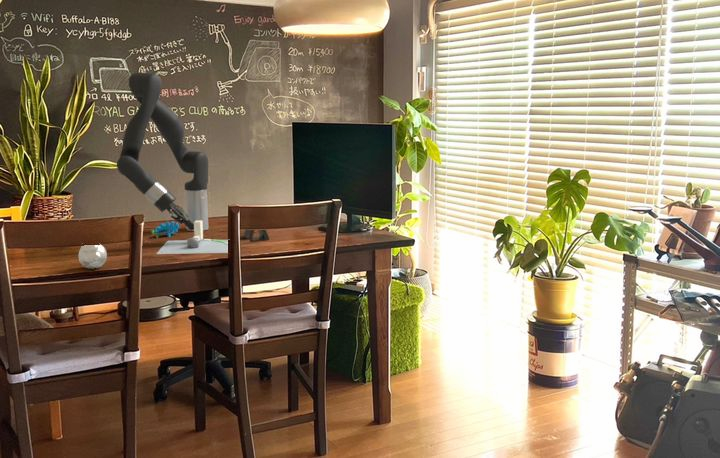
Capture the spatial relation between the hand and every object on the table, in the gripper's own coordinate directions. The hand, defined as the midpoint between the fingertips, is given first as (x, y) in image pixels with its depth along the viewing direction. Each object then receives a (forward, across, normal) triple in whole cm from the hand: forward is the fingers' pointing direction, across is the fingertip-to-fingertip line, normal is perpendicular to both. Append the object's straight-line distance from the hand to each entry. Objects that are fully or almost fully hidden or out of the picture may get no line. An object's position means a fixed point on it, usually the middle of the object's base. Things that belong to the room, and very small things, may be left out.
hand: (193, 228), depth 273 cm
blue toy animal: (-4, +13, +14) cm, 20 cm away
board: (+6, -9, +3) cm, 11 cm away
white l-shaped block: (+5, -4, +2) cm, 7 cm away
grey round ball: (-15, -37, +25) cm, 47 cm away
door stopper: (+21, +9, -12) cm, 25 cm away
